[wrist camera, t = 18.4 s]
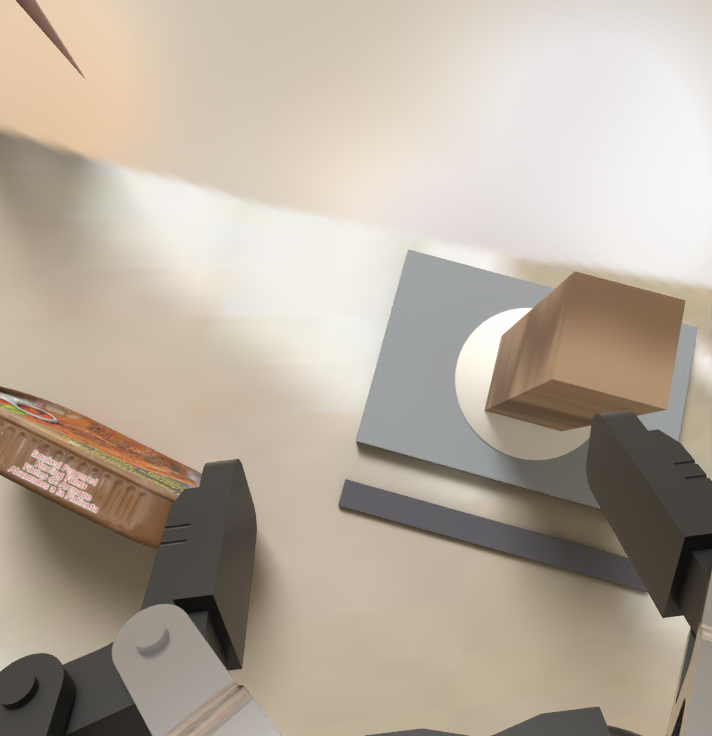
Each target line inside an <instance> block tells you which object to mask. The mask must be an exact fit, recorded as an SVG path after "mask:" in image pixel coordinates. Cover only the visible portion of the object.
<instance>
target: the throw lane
mask: <svg viewBox="0 0 712 736" xmlns="http://www.w3.org/2000/svg"><path fill="white" fill-rule="evenodd" d="M553 290H554V289H553V288H550V287H546V286H542V285H539V284H535V283H531V282H527V281H524V280H520V279H516V278H512V277H509V276H505V275H501V274H498V273H494V272H490V271H486V270H483V269H479V268H475V267H472V266H468V265H464V264H460V263H457V262H453V261H449V260H446V259H442V258H438V257H434V256H431V255H427V254H423V253H420V252H416V251H412V250H408V252H407V256H406V260H405V263H404V267H403V271H402V274H401V278H400V282H399V285H398V289H397V293H396V296H395V300H394V304H393V307H392V311H391V315H390V318H389V322H388V326H387V329H386V333H385V337H384V340H383V344H382V348H381V351H380V355H379V359H378V362H377V366H376V370H375V373H374V377H373V381H372V384H371V388H370V392H369V395H368V399H367V403H366V406H365V410H364V414H363V417H362V421H361V425H360V428H359V432H358V436H357V439H356V442H359V443H363V444H366V445H370V446H374V447H377V448H381V449H384V450H388V451H392V452H395V453H399V454H403V455H406V456H410V457H413V458H417V459H421V460H424V461H428V462H431V463H435V464H439V465H442V466H446V467H449V468H453V469H457V470H460V471H464V472H467V473H471V474H475V475H478V476H482V477H485V478H489V479H493V480H496V481H500V482H503V483H507V484H511V485H514V486H518V487H521V488H525V489H529V490H532V491H536V492H539V493H543V494H547V495H550V496H554V497H557V498H561V499H565V500H568V501H572V502H575V503H579V504H583V505H586V506H590V507H593V508H597V509H601V508H600V506H599V504H598V503H597V501H596V499H595V497H594V495H593V494H592V492H591V489H590V487H589V484H588V480H587V474H586V461H587V454H588V446H589V438H590V431H591V426H586V427H581V428H576V429H571V430H566V431H559V430H555V429H551V428H547V427H544V426H540V425H536V424H532V423H529V422H525V421H521V420H518V419H514V418H510V417H506V416H503V415H499V414H495V413H492V412H488V411H484V410H485V406H486V401H487V397H488V393H489V388H490V384H491V379H492V375H493V371H494V366H495V362H496V357H497V353H498V349H499V344H500V340H501V336H502V335H503V334H504V333H505V332H506V331H508V330H509V329H510V328H511V327H512V326H513V325H514V324H516V323H517V322H518V321H519V320H520V319H521V318H522V317H524V316H525V315H526V314H527V313H528V312H529V311H530V310H531V309H533V308H534V307H535V306H536V305H537V304H538V303H539V302H541V301H542V300H543V299H544V298H545V297H546V296H547V295H549V294H550V293H551V292H552V291H553ZM697 328H698V327H695V326H691V325H687V324H683V323H682V324H681V330H680V336H679V342H678V348H677V354H676V360H675V366H674V372H673V378H672V384H671V390H670V396H669V402H668V408H667V410H663V411H658V412H653V413H648V414H644V415H639V416H637V417H638V418H639V420H640V421H641V422H642V423H643V425H644V426H645V427H646V429H647V430H648V431H649V430H657V429H659V430H660V431H662V432H664V433H665V434H667V435H668V436H670V437H671V438H673V439H675V440H676V441H678V442H679V436H680V430H681V424H682V418H683V412H684V406H685V400H686V394H687V388H688V382H689V376H690V370H691V364H692V358H693V352H694V346H695V340H696V334H697ZM339 506H343V507H346V508H350V509H353V510H357V511H360V512H364V513H367V514H371V515H375V516H378V517H382V518H385V519H389V520H392V521H396V522H400V523H403V524H407V525H410V526H414V527H417V528H421V529H425V530H428V531H432V532H435V533H439V534H442V535H446V536H450V537H453V538H457V539H460V540H464V541H467V542H471V543H474V544H478V545H482V546H485V547H489V548H492V549H496V550H499V551H503V552H507V553H510V554H514V555H517V556H521V557H524V558H528V559H532V560H535V561H539V562H542V563H546V564H549V565H553V566H556V567H560V568H564V569H567V570H571V571H574V572H578V573H581V574H585V575H589V576H592V577H596V578H599V579H603V580H606V581H610V582H614V583H617V584H621V585H624V586H628V587H631V588H635V589H639V590H642V591H646V592H648V591H647V589H646V588H645V586H644V584H643V582H642V580H641V579H640V577H639V575H638V573H637V572H636V570H635V568H634V566H633V565H632V563H631V561H630V559H629V558H625V557H622V556H618V555H615V554H611V553H607V552H604V551H600V550H597V549H593V548H589V547H586V546H582V545H579V544H575V543H572V542H568V541H564V540H561V539H557V538H554V537H550V536H546V535H543V534H539V533H536V532H532V531H529V530H525V529H521V528H518V527H514V526H511V525H507V524H504V523H500V522H496V521H493V520H489V519H486V518H482V517H478V516H475V515H471V514H468V513H464V512H461V511H457V510H453V509H450V508H446V507H443V506H439V505H435V504H432V503H428V502H425V501H421V500H418V499H414V498H410V497H407V496H403V495H400V494H396V493H393V492H389V491H385V490H382V489H378V488H375V487H371V486H367V485H364V484H360V483H357V482H353V481H350V480H345V483H344V487H343V491H342V494H341V498H340V502H339Z"/></svg>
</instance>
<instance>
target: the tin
mask: <svg viewBox="0 0 712 736" xmlns="http://www.w3.org/2000/svg"><path fill="white" fill-rule="evenodd" d="M0 475H1V476H3V477H5V478H7V479H9V480H11V481H13V482H15V483H17V484H19V485H21V486H23V487H25V488H27V489H29V490H31V491H33V492H35V493H37V494H39V495H41V496H43V497H44V498H47V499H49V500H51V501H53V502H55V503H57V504H59V505H61V506H63V507H65V508H67V509H69V510H71V511H73V512H75V513H77V514H79V515H81V516H83V517H85V518H87V519H89V520H91V521H93V522H95V523H97V524H100V525H102V526H104V527H106V528H108V529H110V530H112V531H114V532H116V533H118V534H120V535H122V536H124V537H126V538H129V539H131V540H133V541H136V542H138V543H141V544H143V545H146V546H149V547H152V548H154V549H157V550H158V549H159V547H160V546H161V544H160V542H161V538H162V535H163V531H165V524H166V521H167V517H168V514H169V510H170V507H171V506H172V504H173V503H174V502H175V500H176V499H177V498H178V497H179V495H180V494H181V493H182V491H183V490H184V489H188V488H196V487H199V485H200V481H201V477H202V474H201V473H199V472H197V471H195V470H193V469H191V468H189V467H187V466H185V465H183V464H181V463H179V462H177V461H175V460H173V459H171V458H169V457H167V456H165V455H163V454H161V453H159V452H156V451H154V450H153V449H151V448H148V447H146V446H144V445H142V444H140V443H138V442H136V441H134V440H132V439H130V438H128V437H126V436H124V435H122V434H120V433H118V432H116V431H114V430H112V429H110V428H108V427H106V426H104V425H102V424H100V423H98V422H96V421H94V420H92V419H90V418H88V417H85V416H83V415H81V414H79V413H77V412H74V411H72V410H69V409H67V408H65V407H62V406H60V405H57V404H55V403H52V402H50V401H47V400H44V399H42V398H38V397H35V396H32V395H30V394H26V393H23V392H20V391H16V390H13V389H8V388H4V387H1V386H0Z"/></svg>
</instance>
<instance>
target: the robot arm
mask: <svg viewBox="0 0 712 736" xmlns="http://www.w3.org/2000/svg"><path fill="white" fill-rule="evenodd" d="M586 474H587V480H588V484H589V487H590V489H591V492H592V494H593V495H594V497H595V499H596V501H597V503H598V504H599V506H600V508H601V510H602V511H603V513H604V515H605V517H606V518H607V520H608V522H609V524H610V526H611V527H612V529H613V531H614V533H615V534H616V536H617V538H618V540H619V541H620V543H621V545H622V547H623V549H624V550H625V552H626V554H627V556H628V557H629V559H630V561H631V563H632V565H633V566H634V568H635V570H636V572H637V573H638V575H639V577H640V579H641V580H642V582H643V584H644V586H645V588H646V589H647V591H648V593H649V595H650V596H651V598H652V600H653V602H654V604H655V605H656V607H657V609H658V611H659V612H660V614H661V616H662V618H666V617H674V616H682V615H684V617H685V619H686V620H687V622H688V624H689V625H690V631H689V634H688V637H687V642H686V647H685V651H684V656H683V661H682V665H681V670H680V675H679V679H678V684H677V689H676V693H675V698H674V703H673V707H672V712H671V716H670V720H669V724H668V728H667V732H666V735H665V736H712V481H711V480H710V478H707V477H706V474H705V472H704V471H703V470H702V469H701V467H700V466H699V465H698V464H695V460H694V459H693V458H692V457H691V455H690V454H689V453H688V452H687V451H686V449H685V448H684V447H683V446H682V445H681V443H679V442H678V441H676V440H675V439H673V438H671V437H670V436H668V435H667V434H665V433H664V432H662V431H660V430H659V429H657V430H649V431H648V430H647V429H646V427H645V426H644V425H643V423H642V422H641V421H640V420H639V418H638V417H637V416H636V414H635V413H634V412H633V411H631V410H624V411H616V412H608V413H600V414H595V415H594V416H593V419H592V423H591V431H590V438H589V446H588V454H587V461H586ZM256 533H257V524H256V514H255V508H254V504H253V501H252V497H251V494H250V490H249V487H248V484H247V480H246V477H245V473H244V470H243V466H242V464H241V461H240V460H239V459H234V460H227V461H219V462H211V463H206V464H205V466H204V468H203V473H202V477H201V481H200V485H199V487H196V488H188V489H184V490H183V491H182V493H181V494H180V495H179V497H178V498H177V499H176V500H175V502H174V503H173V504H172V506H171V507H170V510H169V514H168V517H167V521H166V524H165V531H163V535H162V538H161V542H160V544H161V546H160V547H159V549H158V552H157V556H156V560H155V563H154V567H153V570H152V574H151V577H150V581H149V584H148V588H147V591H146V595H145V599H144V602H143V605H142V608H141V611H140V612H138V613H137V614H135V615H134V616H133V617H131V618H130V619H129V620H128V621H127V622H126V623H125V624H124V625H123V627H122V628H121V629H120V631H119V632H118V634H117V635H116V638H115V640H114V642H112V643H111V644H109V645H107V646H105V647H103V648H101V649H99V650H97V651H94V652H92V653H90V654H87V655H85V656H83V657H80V658H78V659H76V660H73V661H71V662H68V663H66V664H64V665H62V663H61V662H60V661H59V660H58V659H57V658H56V657H54V656H53V655H50V654H44V653H39V654H32V655H29V656H26V657H23V658H21V659H19V660H17V661H15V662H13V663H11V664H10V665H8V666H7V667H6V668H4V669H3V670H2V671H1V672H0V736H281V735H280V734H279V732H278V731H277V730H276V728H275V727H274V725H273V724H272V723H271V721H270V720H269V719H268V717H267V716H266V714H265V713H264V712H263V710H262V709H261V708H260V706H259V705H258V703H257V702H256V701H255V699H254V698H253V697H252V695H251V694H250V693H249V691H248V690H247V689H246V688H245V687H244V686H242V685H241V686H239V685H238V684H237V683H236V682H235V680H234V679H233V678H232V676H231V675H230V673H229V672H228V670H236V669H242V664H243V655H244V645H245V636H246V627H247V617H248V608H249V599H250V589H251V580H252V571H253V561H254V552H255V543H256ZM366 736H467V735H461V734H454V733H448V732H441V731H435V730H428V729H415V730H407V731H398V732H390V733H382V734H374V735H366ZM492 736H641V735H638V734H636V733H633V732H631V731H627V730H624V729H620V728H617V727H612V726H607V724H606V722H605V720H604V717H603V715H602V712H601V710H600V707H592V708H584V709H576V710H568V711H560V712H552V713H544V714H540V715H538V716H535V717H533V718H531V719H529V720H526V721H524V722H522V723H519V724H517V725H515V726H513V727H510V728H508V729H506V730H504V731H501V732H499V733H497V734H495V735H492Z"/></svg>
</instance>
